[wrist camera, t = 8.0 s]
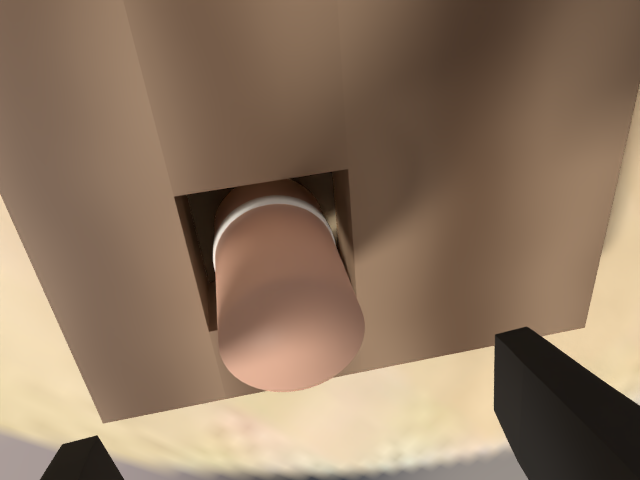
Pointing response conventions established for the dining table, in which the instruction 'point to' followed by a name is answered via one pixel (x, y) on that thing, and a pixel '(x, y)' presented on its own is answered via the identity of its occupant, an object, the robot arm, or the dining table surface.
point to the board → (312, 166)
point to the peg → (281, 289)
